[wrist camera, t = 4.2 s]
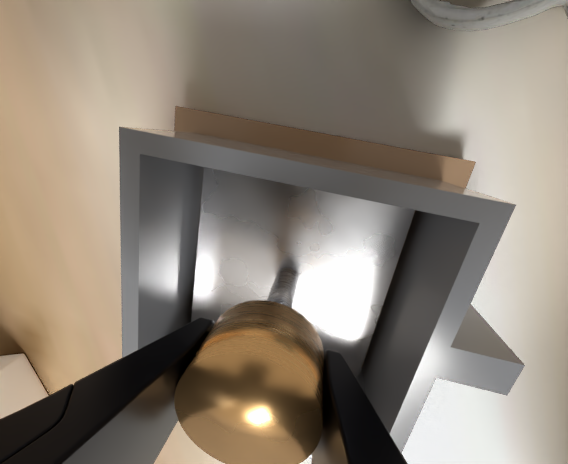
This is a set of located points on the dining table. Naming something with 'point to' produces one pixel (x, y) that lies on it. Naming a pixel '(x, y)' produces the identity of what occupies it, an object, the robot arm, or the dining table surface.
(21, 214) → the dining table surface
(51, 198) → the dining table surface
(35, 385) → the milk
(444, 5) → the ceramic mug
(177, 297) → the grey square tray
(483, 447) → the dining table surface
